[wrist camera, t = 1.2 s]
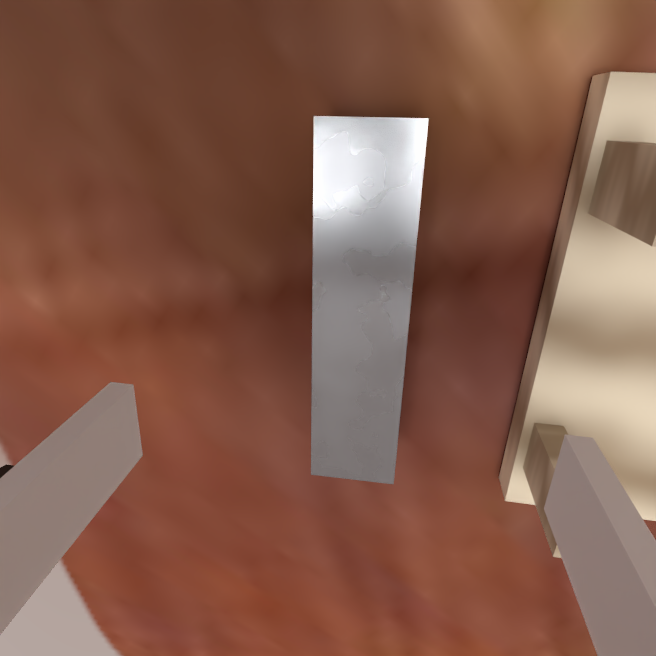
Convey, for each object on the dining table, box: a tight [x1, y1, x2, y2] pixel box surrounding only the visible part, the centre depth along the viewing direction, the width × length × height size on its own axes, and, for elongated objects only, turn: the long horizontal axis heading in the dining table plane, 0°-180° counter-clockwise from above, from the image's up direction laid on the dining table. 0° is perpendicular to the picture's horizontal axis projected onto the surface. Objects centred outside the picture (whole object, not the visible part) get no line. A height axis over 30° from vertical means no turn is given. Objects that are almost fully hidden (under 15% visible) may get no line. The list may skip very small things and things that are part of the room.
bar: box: [311, 116, 429, 484], centre depth 24 cm, size 18×4×4 cm, turn 179°
